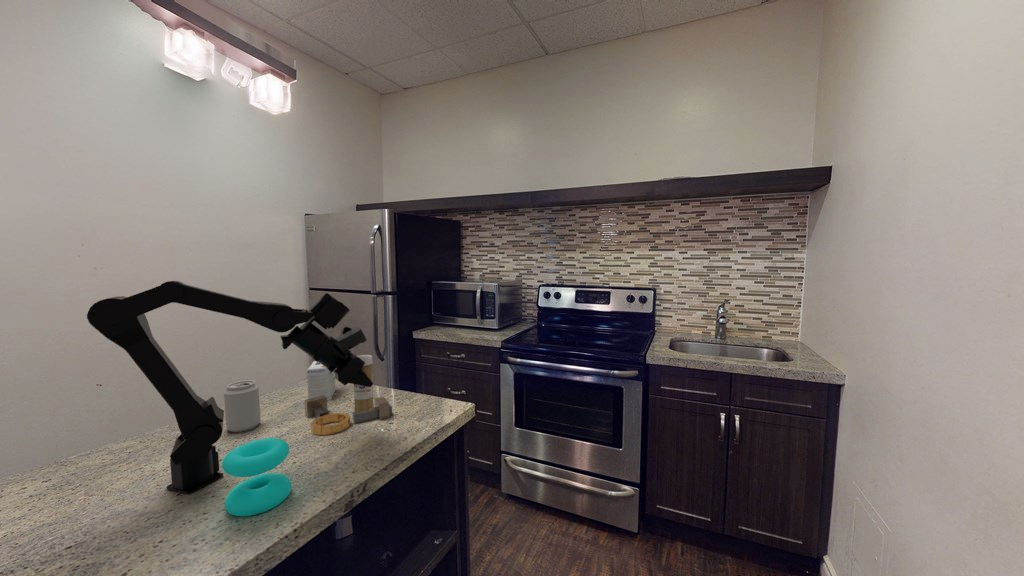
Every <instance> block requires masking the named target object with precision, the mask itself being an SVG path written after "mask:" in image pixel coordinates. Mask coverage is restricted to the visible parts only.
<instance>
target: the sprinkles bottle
mask: <svg viewBox="0 0 1024 576" xmlns="http://www.w3.org/2000/svg"><path fill="white" fill-rule="evenodd" d="M356 356H357V357H358V358H360V359H361V360H362V361H364V362H365V364H364V366H363V367H362V370H363V371H364V373H365V374H366V375H367V376H368V377H369V379H370V380H371V381H372V382H373V383H374V379H373V367H372V366H373V362H374V361H373V355H371V354H361V355H360V354H359V355H356ZM353 399H354V410H353V412H357V413H366V412H370V411H372V410H373V409H374V407H375V405H374V384H373V385H372V386H371V387H367V386H362V385H357V384H353Z"/></svg>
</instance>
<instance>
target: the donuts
mask: <svg viewBox="0 0 1024 576" xmlns="http://www.w3.org/2000/svg"><path fill="white" fill-rule="evenodd" d="M289 453H290V445H289V444H288V442H287V441H286V440H284V439H282V438H277V437H276V438H275V437H268V438H267V437H266V438H261V439H260V438H259V439H256V440H253V441H252V440H251V441H248V442H245V443H242V444H240V445H239V446H236V447H234V448H233V449H231V450H230V451H229V452H228V453H227V454H226V455H225V456H224V457H223V460H222V462H221V468H222V470H223V472H224V473H225V474H227V475H228V476H230V477H235V478H247V479H245V480H244V481H242V482H240V483H239V484H237V485H236V486H234V487H233V488H232V490H231V491H229V493H228V494H227V496H226V498H225V502H224V508H225V511H226V512H228V513H229V514H230V515H232V516H235V517H250V516H255V515H258V514H262V513H264V512H265V513H266V512H267V511H269V510H271V509H274V508H275V507H277V506H278V505H280V504H281V503H282V502H284V500H286V499H287V498H288V496H289V494H291V491H292V488H293V487H292V481H291V479H290V478H289V477H288V475H285V474H284V473H280V472H279V473H278V472H270V471H272V470H274V469H275V468H277V467H278V466H279V465H281V464H282V463H283V462H284V461H285V460H286V459H287V457H288V456H289ZM267 472H268V473H267ZM248 477H250V478H248Z"/></svg>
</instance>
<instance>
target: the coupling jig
mask: <svg viewBox="0 0 1024 576" xmlns="http://www.w3.org/2000/svg"><path fill="white" fill-rule="evenodd" d="M304 415H305V416H306V417H307V418H310V417H313V418H315V419H313V420H312V421H311V423H310V431H311V433H312V434H313V435H317V436H327V435H328V436H329V435H334V434H338V433H341V432H343V431H345V430H347V429H349V428H350V426H351V424H352V423H351V416H350V415H349V414H348V413H343V412H342V413H341V412H335V413H330V410H328V400H327V397H326V396H324V395H323V396H319V397H314V398H310V399H308V398H306V399H304ZM390 416H393V406H392V405H391V404H390V403H389V401H388V400H387V398H386V397H385V396H381V397H377V398H374V409H373V410H372V411H370V412H366V413H357V412H355V411H352V422H353V423H354V424H355V425H356V424H361V423H363V422H369V421H372V420H377V419H378V420H380V421H382V420H385V419H389V418H390ZM330 423H333V424H330ZM326 424H328V425H326ZM329 424H330V425H329Z"/></svg>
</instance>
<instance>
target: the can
mask: <svg viewBox="0 0 1024 576" xmlns="http://www.w3.org/2000/svg"><path fill="white" fill-rule="evenodd" d="M259 390H260V389H259V385H257V384H256V381H255V380H252V379H250V380H249V379H247V380H239V381H235V382H232V383H229V384H227V385H226V389H225V390H224V391H223V401H224V402H223V403H224V417H225V428H226V430H227V431H230V432H231V433H241V432H247V431H250V430H252V429H254V428H256V427H257V426H258V425H259V424H260V423H261V419H262V418H261V408H260V407H261V405H260V404H261V403H260V391H259Z"/></svg>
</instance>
